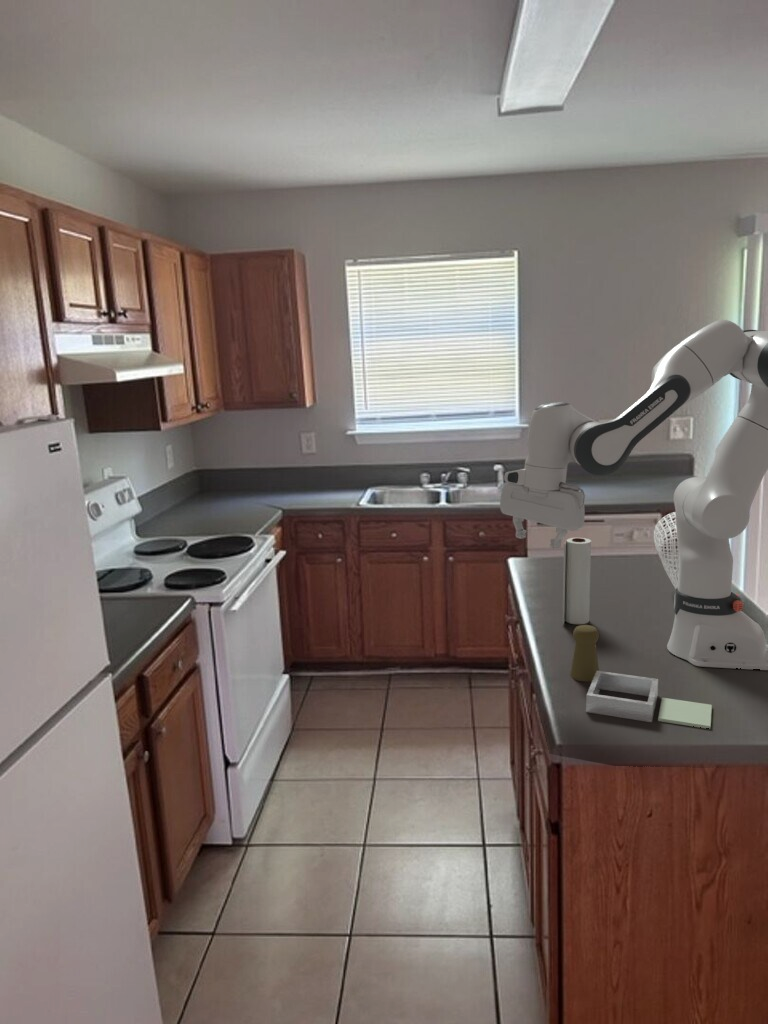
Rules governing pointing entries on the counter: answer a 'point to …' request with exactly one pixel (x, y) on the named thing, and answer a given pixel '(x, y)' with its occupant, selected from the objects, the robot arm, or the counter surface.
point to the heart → (661, 541)
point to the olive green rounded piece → (585, 653)
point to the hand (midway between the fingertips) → (537, 542)
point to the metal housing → (622, 705)
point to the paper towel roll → (576, 580)
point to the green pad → (685, 713)
